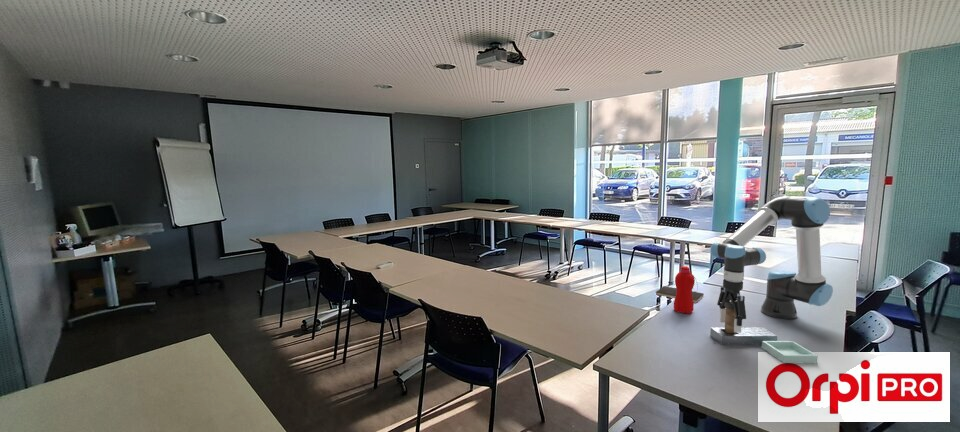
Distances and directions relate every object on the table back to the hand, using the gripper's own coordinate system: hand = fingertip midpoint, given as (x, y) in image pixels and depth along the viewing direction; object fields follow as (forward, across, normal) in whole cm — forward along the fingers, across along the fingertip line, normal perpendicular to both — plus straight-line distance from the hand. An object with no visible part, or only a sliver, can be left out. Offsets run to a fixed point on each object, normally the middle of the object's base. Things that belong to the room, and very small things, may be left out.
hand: (729, 326), depth 174 cm
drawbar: (+6, 0, +6) cm, 9 cm away
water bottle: (+6, -35, -3) cm, 36 cm away
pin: (+6, 0, 0) cm, 6 cm away
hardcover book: (+7, -61, +6) cm, 62 cm away
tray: (+6, +14, +16) cm, 22 cm away
